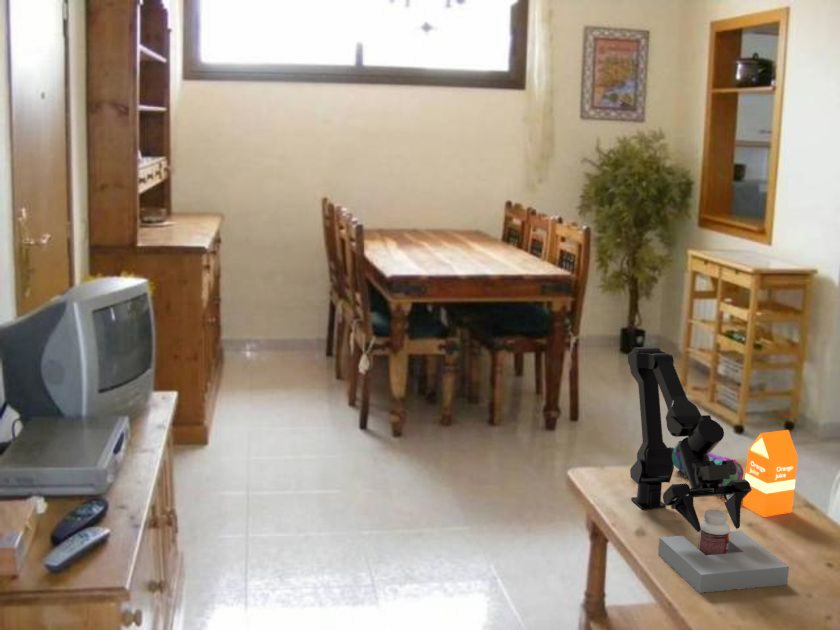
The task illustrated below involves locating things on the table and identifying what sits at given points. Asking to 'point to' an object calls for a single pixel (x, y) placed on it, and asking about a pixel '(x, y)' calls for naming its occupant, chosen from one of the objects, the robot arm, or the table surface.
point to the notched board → (724, 564)
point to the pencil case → (713, 457)
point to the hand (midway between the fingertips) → (718, 529)
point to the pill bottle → (714, 533)
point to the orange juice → (771, 474)
